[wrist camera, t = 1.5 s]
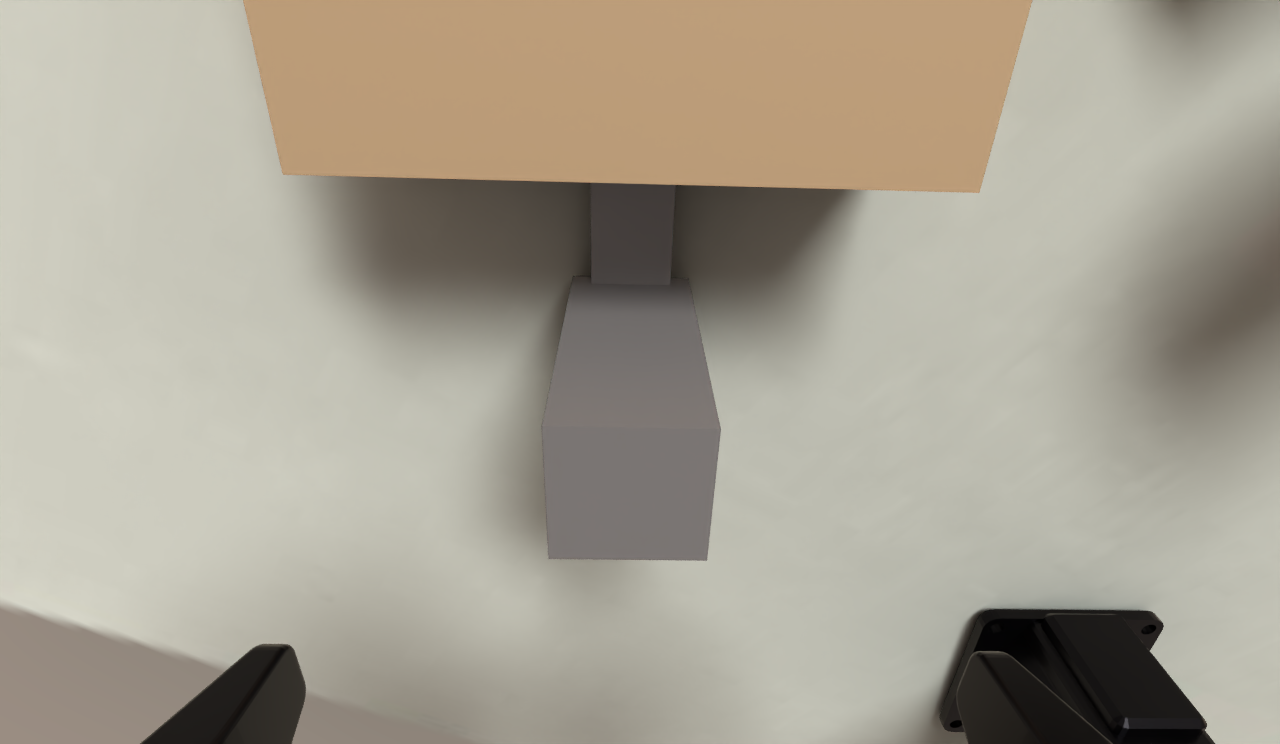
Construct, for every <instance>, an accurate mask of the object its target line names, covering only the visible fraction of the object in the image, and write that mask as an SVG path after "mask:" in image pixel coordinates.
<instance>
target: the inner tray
mask: <svg viewBox="0 0 1280 744" xmlns="http://www.w3.org/2000/svg"><path fill="white" fill-rule="evenodd" d="M675 190H676V185H665V184H627V183H591V276H573V279H572V283H571V288H570V293H569V298H568V303H567V307H566V312H565V317H564V322H563V326H562V331H561V336H560V341H559V346H558V350H557V355H556V360H555V365H554V370H553V374H552V379H551V384H550V389H549V394H548V398H547V403H546V408H545V413H544V418H543V422H542V441H543V461H544V480H545V500H546V519H547V539H548V558H549V559H613V560H702V561H707V555H708V545H709V536H710V526H711V517H712V508H713V498H714V489H715V479H716V470H717V460H718V451H719V441H720V432H721V428H720V423H719V418H718V414H717V409H716V405H715V400H714V395H713V391H712V386H711V381H710V377H709V372H708V367H707V363H706V358H705V353H704V349H703V344H702V339H701V335H700V330H699V325H698V321H697V316H696V311H695V307H694V302H693V297H692V293H691V288H690V284H689V279H685V278H671V263H672V245H673V227H674V208H675Z"/></svg>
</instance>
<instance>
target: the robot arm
mask: <svg viewBox="0 0 1280 744" xmlns="http://www.w3.org/2000/svg"><path fill="white" fill-rule="evenodd" d="M1163 627H1164V625H1163V623H1162V622H1161V620H1160V619H1159V618H1158V617H1157V616H1156V615H1155V614H1154V613H1153V612H1151V611H1116V610H1010V609H994V610H989V611H986V612H984V613H983V614H981V615H980V616H979V618H978V619H977V622H976V624H975V627H974V629H973V632H972V634H971V637H970V639H969V642H968V645H967V647H966V650H965V652H964V655H963V657H962V660H961V662H960V665H959V667H958V670H957V672H956V675H955V677H954V680H953V682H952V685H951V687H950V690H949V692H948V695H947V697H946V700H945V702H944V705H943V707H942V710H941V712H940V717H939V718H940V720H941V722H942V724H943V727H944V728H945V730H947V731H951V732H965V734H966V738H967V741H968V744H1215V743H1214V742H1213V740H1212V739H1211V738H1210V736H1209V735H1208V734H1207V733H1206V731H1205V729H1206V727H1207V723H1206V721H1205V719H1204V718H1203V717H1202V716H1201V714H1200V713H1199V712H1198V711H1197V709H1196V708H1195V707H1194V706H1193V704H1192V703H1191V702H1190V701H1189V699H1188V698H1187V697H1186V696H1185V694H1184V693H1183V692H1182V691H1181V689H1180V688H1179V687H1178V686H1177V685H1176V683H1175V682H1174V681H1173V680H1172V678H1171V677H1170V676H1169V675H1168V673H1167V672H1166V671H1165V670H1164V668H1163V667H1162V666H1161V665H1160V663H1159V662H1158V661H1157V660H1156V658H1155V657H1154V656H1153V655H1152V653H1151V652H1150V650H1151V648H1152V646H1153V645H1154V643H1155V641H1156V640H1157V638H1158V636H1159V635H1160V633H1161V631H1162V630H1163ZM305 694H306V685H305V681H304V678H303V675H302V672H301V669H300V666H299V663H298V660H297V657H296V654H295V651H294V649H293V648H292V647H291V646H290V645H288V644H261V645H258V646H256V647H254V648H252V649H251V650H250V651H249V652H247V653H246V654H245V655H244V656H243V657H242V658H240V659H239V660H238V661H237V662H236V663H234V664H233V665H232V666H231V667H230V668H229V669H227V670H226V671H225V672H224V673H223V674H222V675H220V676H219V677H218V678H217V679H216V680H215V681H213V682H212V683H211V684H210V685H209V686H207V687H206V688H205V689H204V690H203V691H202V692H200V693H199V694H198V695H197V696H196V697H194V698H193V699H192V700H191V701H190V702H189V703H187V704H186V705H185V706H184V707H183V708H182V709H180V710H179V711H178V712H177V713H176V714H175V715H173V716H172V717H171V718H170V719H169V720H167V721H166V722H165V723H164V724H163V725H162V726H160V727H159V728H158V729H157V730H156V731H155V732H154V733H152V734H151V735H150V736H149V737H147V738H146V739H145V740H144V741H143V742H142V743H140V744H292V740H293V737H294V734H295V731H296V727H297V724H298V721H299V718H300V714H301V711H302V708H303V705H304V700H305Z"/></svg>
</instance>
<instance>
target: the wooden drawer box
mask: <svg viewBox="0 0 1280 744" xmlns="http://www.w3.org/2000/svg"><path fill="white" fill-rule="evenodd" d="M243 2H244V6H245V10H246V15H247V19H248V24H249V28H250V32H251V37H252V41H253V45H254V50H255V54H256V59H257V63H258V67H259V72H260V76H261V81H262V85H263V89H264V94H265V98H266V103H267V107H268V111H269V116H270V120H271V125H272V129H273V133H274V138H275V142H276V146H277V151H278V155H279V160H280V164H281V168H282V173H283V175H320V176H358V177H396V178H435V179H473V180H512V181H550V182H588V183H627V184H665V185H704V186H742V187H780V188H819V189H857V190H895V191H934V192H972V193H979V192H980V188H981V185H982V181H983V177H984V174H985V170H986V166H987V163H988V159H989V156H990V152H991V148H992V145H993V141H994V137H995V134H996V130H997V126H998V123H999V119H1000V116H1001V112H1002V108H1003V105H1004V101H1005V97H1006V94H1007V90H1008V87H1009V83H1010V79H1011V76H1012V72H1013V68H1014V65H1015V61H1016V57H1017V54H1018V50H1019V47H1020V43H1021V39H1022V36H1023V32H1024V28H1025V25H1026V21H1027V18H1028V14H1029V10H1030V7H1031V3H1032V0H243Z"/></svg>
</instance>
